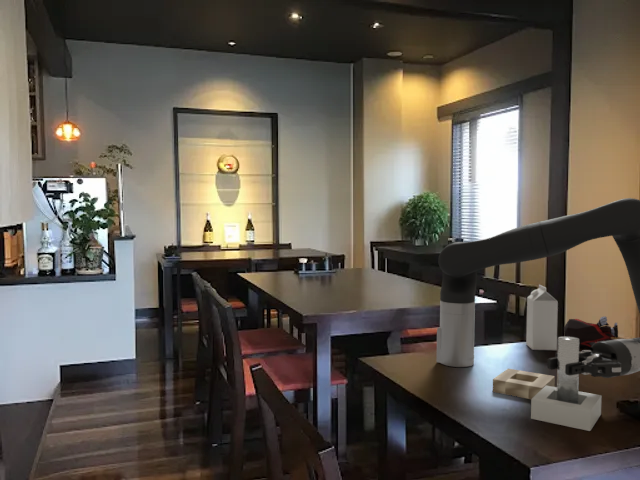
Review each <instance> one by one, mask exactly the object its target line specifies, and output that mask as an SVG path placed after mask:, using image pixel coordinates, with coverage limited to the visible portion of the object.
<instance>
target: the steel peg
mask: <svg viewBox="0 0 640 480" xmlns="http://www.w3.org/2000/svg"><path fill="white" fill-rule="evenodd" d="M557 352H558V363H557V369H556V370H557V372H556V387H557V400H558V401H563V402H568V403H573V404H578V391H579V384H580V383H579V382H580V381H579V378H580V374H576V375H570V376H569V375H566V374H565V366H566V364H569V363H576V362H579V352H580V347H579V339H578V338H575V337H564V336H557Z"/></svg>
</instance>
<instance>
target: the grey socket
mask: <svg viewBox="0 0 640 480" xmlns="http://www.w3.org/2000/svg"><path fill="white" fill-rule="evenodd" d="M530 404H531V405H530V419H531V420H537V421H540V422H541V421H542V422H545V423H550V424H555V425H559V426H560V425H561V426H565V427H568V428H574V429H578V430H584V431H588V432H590V431H592V429H593V427H594V426H595V424H596V423H597V422H598V420H599V418H600V417H601V415H602V395H601V394H596V393H589V392H585V391H584V392H583V391H579V390H578V404H573V403H568V402H563V401H558V400H557V386H555V387H552V386H545V387H544V388H543V389H542V390H541V391H540V392H538V393H537V394H536V395H535V396H534V397H533V398H532V399H530Z"/></svg>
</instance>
